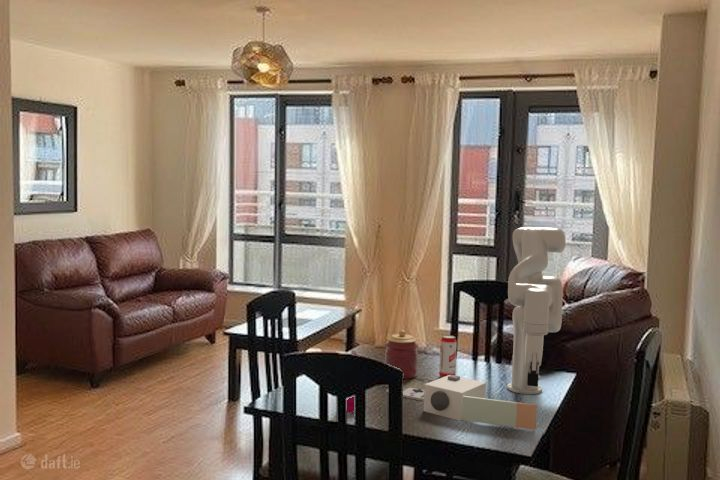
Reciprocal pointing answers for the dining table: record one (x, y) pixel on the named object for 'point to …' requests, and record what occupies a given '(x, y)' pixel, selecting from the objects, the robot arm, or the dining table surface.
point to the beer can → (447, 355)
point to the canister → (402, 353)
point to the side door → (499, 412)
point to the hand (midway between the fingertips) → (532, 385)
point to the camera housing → (451, 395)
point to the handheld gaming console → (414, 394)
